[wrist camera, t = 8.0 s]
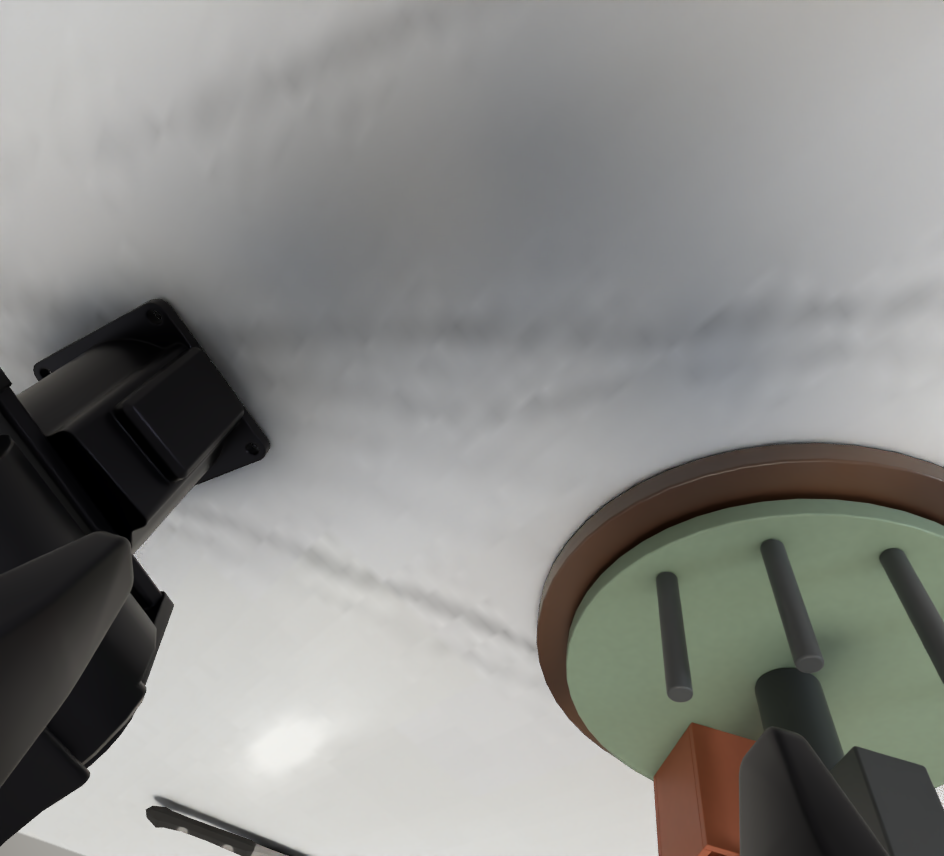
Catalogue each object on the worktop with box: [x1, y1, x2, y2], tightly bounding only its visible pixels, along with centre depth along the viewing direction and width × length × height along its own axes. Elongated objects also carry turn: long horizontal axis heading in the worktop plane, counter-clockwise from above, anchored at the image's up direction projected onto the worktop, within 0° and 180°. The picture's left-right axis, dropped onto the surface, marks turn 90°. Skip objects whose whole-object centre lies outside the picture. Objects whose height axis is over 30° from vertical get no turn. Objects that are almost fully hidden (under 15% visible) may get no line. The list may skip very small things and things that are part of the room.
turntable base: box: [537, 443, 944, 757], centre depth 25 cm, size 18×18×1 cm
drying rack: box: [566, 499, 944, 856], centre depth 20 cm, size 16×16×11 cm
